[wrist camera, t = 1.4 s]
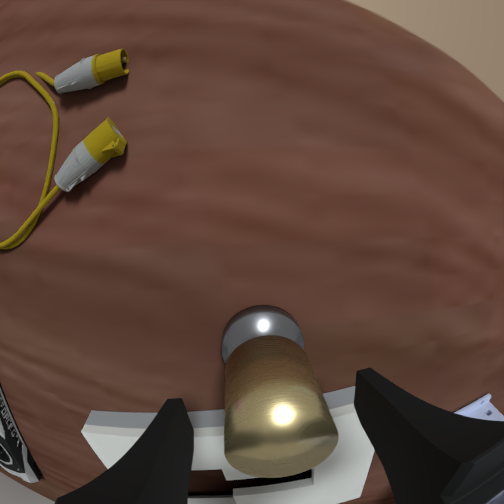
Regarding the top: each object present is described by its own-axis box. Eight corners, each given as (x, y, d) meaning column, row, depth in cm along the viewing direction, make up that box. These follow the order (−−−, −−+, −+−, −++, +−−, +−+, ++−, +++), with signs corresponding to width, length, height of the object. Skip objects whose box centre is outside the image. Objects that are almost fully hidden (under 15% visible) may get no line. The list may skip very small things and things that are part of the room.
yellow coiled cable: (113, 276, 15) (100, 289, 13) (-46, 229, 13) (-62, 234, 11) (157, 58, 13) (147, 43, 11) (-22, 73, 11) (-37, 68, 9)
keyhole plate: (371, 381, 18) (385, 402, 15) (353, 479, 21) (359, 497, 19) (91, 410, 17) (81, 431, 15) (153, 499, 20) (150, 517, 18)
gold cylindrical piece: (297, 299, 16) (348, 395, 8) (302, 364, 17) (339, 467, 9) (215, 311, 16) (205, 417, 8) (229, 375, 17) (230, 485, 9)
